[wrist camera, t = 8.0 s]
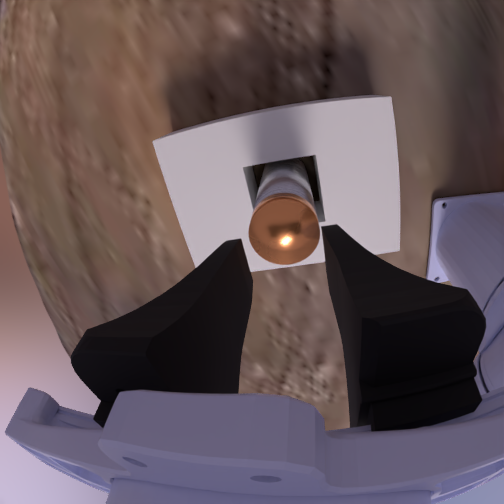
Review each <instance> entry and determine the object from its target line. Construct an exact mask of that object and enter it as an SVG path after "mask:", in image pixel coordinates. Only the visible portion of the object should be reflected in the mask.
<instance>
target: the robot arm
mask: <svg viewBox="0 0 504 504" xmlns="http://www.w3.org/2000/svg"><path fill="white" fill-rule="evenodd" d="M444 202H445V205H444V206H443V207H442V204H443V203H444ZM321 230H322V237H323V246H324V254H325V263H326V272H327V279H328V285H329V292H330V296H331V300H332V303H333V307H334V311H335V315H336V319H337V323H338V326H339V330H340V334H341V339H342V344H343V351H344V359H345V368H346V378H347V388H348V401H349V415H350V428H346V429H338V430H329V431H325V424H324V418H323V417H322V415H321V414H320V413H319V412H318V410H317V409H316V408H315V407H314V406H313V405H311V404H309V403H306V402H304V401H301V400H298V399H295V398H292V397H290V396H286V395H272V394H260V393H250V394H238V390H239V375H240V363H241V354H242V348H243V342H244V338H245V333H246V328H247V323H248V319H249V314H250V309H251V304H252V292H253V279H252V276H251V272H250V268H249V265H248V261H247V257H246V254H245V250H244V247H243V243H242V239H241V238H240V239H234V240H227V241H225V242H224V243H223V244H221V245H220V246H219V247H218V248H217V249H216V250H215V251H214V252H213V253H212V254H210V255H209V256H208V257H207V258H206V259H205V260H204V261H203V262H202V263H201V264H200V265H199V266H198V267H196V268H195V269H194V270H193V271H192V272H191V273H189V274H188V275H187V276H186V277H185V278H184V279H182V280H181V281H180V282H179V283H177V284H176V285H175V286H173V287H172V288H170V289H169V290H167V291H166V292H165V293H163V294H162V295H160V296H158V297H157V298H155V299H153V300H152V301H150V302H148V303H147V304H145V305H143V306H141V307H140V308H138V309H136V310H134V311H132V312H130V313H128V314H126V315H123V316H121V317H119V318H117V319H114V320H112V321H109V322H107V323H104V324H101V325H98V326H96V327H93V328H90V329H87V330H86V332H85V334H84V335H83V337H82V338H81V340H80V341H79V343H78V345H77V346H76V348H75V349H74V351H73V353H72V355H71V364H72V366H73V368H74V370H75V372H76V373H77V375H78V376H79V378H80V379H81V380H82V381H83V382H84V383H85V384H86V386H88V388H89V389H90V390H91V391H92V392H93V393H94V394H95V395H96V396H97V397H98V398H99V399H100V400H101V402H100V404H99V407H98V409H97V411H96V413H95V415H91V414H87V413H83V412H79V411H76V410H72V409H69V408H65V407H62V406H59V404H58V403H57V402H56V401H55V400H54V399H53V398H52V397H51V396H50V395H48V394H47V393H45V392H43V391H40V390H37V389H34V388H28V390H27V392H26V393H25V395H24V397H23V399H22V400H21V402H20V404H19V406H18V408H17V410H16V411H15V413H14V415H13V417H12V419H11V421H10V423H9V424H8V427H7V428H6V431H5V433H6V435H8V436H9V437H10V438H11V439H12V440H14V441H15V442H16V443H17V444H19V445H20V446H21V447H23V448H24V449H25V450H27V451H28V452H29V453H31V454H32V455H34V456H35V457H36V458H38V459H39V460H41V461H42V462H44V463H45V464H47V465H49V466H51V467H53V468H54V469H56V470H58V471H60V472H62V473H64V474H66V475H68V476H70V477H72V478H74V479H77V480H79V481H80V482H83V483H85V484H87V485H89V486H92V487H94V488H96V489H98V490H101V491H103V492H106V493H108V494H109V495H108V499H107V501H106V504H436V503H439V502H442V501H445V500H447V499H450V498H453V497H455V496H458V495H460V494H462V493H465V492H467V491H469V490H471V489H474V488H476V487H478V486H480V485H482V484H485V483H487V482H489V481H491V480H493V479H495V478H497V477H499V476H500V475H502V474H504V192H495V193H485V194H475V195H465V196H456V197H446V198H438V199H435V200H434V201H433V204H432V222H431V237H430V249H429V259H428V267H427V275H426V279H424V278H421V277H419V276H416V275H413V274H411V273H409V272H406V271H404V270H401V269H399V268H397V267H395V266H393V265H391V264H390V263H388V262H386V261H384V260H382V259H381V258H379V257H377V256H376V255H374V254H373V253H371V252H370V251H368V250H367V249H366V248H364V247H363V246H362V245H360V244H359V243H358V242H357V241H355V240H354V239H353V238H352V237H351V236H350V235H349V234H347V233H346V232H345V231H344V230H343V229H342V228H341V227H340V226H339V225H337V224H335V225H328V226H321ZM436 277H437V278H436ZM435 278H436V279H435ZM445 281H450V282H451V284H452V286H450V285H445V284H441V283H440V282H445ZM478 350H479V354H478V355H477V357H476V358H475V356H476V354H477V351H478ZM474 358H475V360H474ZM473 360H474V362H473Z"/></svg>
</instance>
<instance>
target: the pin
mask: <svg viewBox="0 0 504 504" xmlns="http://www.w3.org/2000/svg"><path fill="white" fill-rule="evenodd" d="M248 234H249V241H250V243H251V246H252V247H253V249H254V250H255V252H256V253H257V254H258V255H259V256H260V257H262V258H263V259H265V260H267V261H269V262H271V263H274V264H280V265H290V264H295V263H298V262H301V261H303V260H304V259H306V258H307V257H309V256H310V255H311V254H312V253H313V252H314V250H315V249H316V247H317V245H318V243H319V239H320V227H319V223H318V218H317V214H316V209H315V205H314V200H313V196H312V192H311V187H310V183H309V179H308V175H307V171H306V167H305V165H304V163H303V162H302V161H301V160H300V159H299V158H292V159H285V160H280V161H274V162H268V163H266V165H265V167H264V171H263V174H262V178H261V182H260V186H259V190H258V194H257V198H256V202H255V205H254V209H253V213H252V217H251V221H250V225H249V231H248Z"/></svg>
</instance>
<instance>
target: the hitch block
mask: <svg viewBox="0 0 504 504" xmlns="http://www.w3.org/2000/svg"><path fill="white" fill-rule="evenodd" d="M153 145H154V148H155V151H156V154H157V157H158V161H159V164H160V167H161V170H162V173H163V176H164V179H165V182H166V185H167V188H168V191H169V194H170V197H171V200H172V203H173V206H174V209H175V212H176V215H177V217H178V220H179V223H180V226H181V229H182V232H183V234H184V237H185V240H186V243H187V245H188V248H189V251H190V253H191V256H192V259H193V261H194V264H195V267H198V266H199V265H200V264H201V263H202V262H203V261H204V260H205V259H206V258H207V257H208V256H209V255H210V254H212V253H213V252H214V251H215V250H216V249H217V248H218V247H219V246H220V245H221V244H223V243H224V242H225V241H227V240H234V239H240V238H241V239H242V243H243V247H244V250H245V254H246V257H247V261H248V265H249V268H250V272H253V271H261V270H268V269H276V268H283V267H291V266H298V265H306V264H313V263H320V262H325V254H324V246H323V237H322V230H321V226H328V225H335V224H337V225H339V226H340V227H341V228H342V229H343V230H344V231H345V232H346V233H347V234H349V235H350V236H351V237H352V238H353V239H354V240H355V241H357V242H358V243H359V244H360V245H362V246H363V247H364V248H366V249H367V250H368V251H370V252H371V253H373V254H374V255H375V254H382V253H388V252H395V251H400V183H399V164H398V151H397V139H396V130H395V121H394V113H393V106H392V99H391V97H390V96H381V95H363V96H351V97H341V98H332V99H324V100H316V101H309V102H302V103H295V104H289V105H283V106H278V107H272V108H267V109H262V110H257V111H252V112H247V113H243V114H238V115H234V116H229V117H225V118H221V119H217V120H213V121H209V122H206V123H202V124H198V125H195V126H191V127H188V128H184V129H181V130H177V131H174V132H171V133H169V134H167V135H165V136H162V137H160V138H158V139H156V140H154V141H153ZM311 155H313V161H314V167H315V173H316V179H317V185H318V192H319V199H320V201H314V205H315V209H316V214H317V218H318V223H319V227H320V239H319V243H318V245H317V247H316V249H315V250H314V252H313V253H312V254H311V255H310V256H309V257H307V258H306V259H304V260H303V261H301V262H298V263H295V264H290V265H280V264H274V263H271V262H269V261H267V260H265V259H263V258H262V257H260V256H259V255H258V254H257V253H256V252H255V250H254V249H253V247H252V246H251V243H250V241H249V234H248V231H249V225H250V221H251V217H252V213H253V209H254V205H255V202H256V198H257V194H258V188H257V184H256V180H255V175H254V171H253V167H252V165H257V164H263V163H268V162H274V161H280V160H285V159H292V158H298V157H304V156H311Z"/></svg>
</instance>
